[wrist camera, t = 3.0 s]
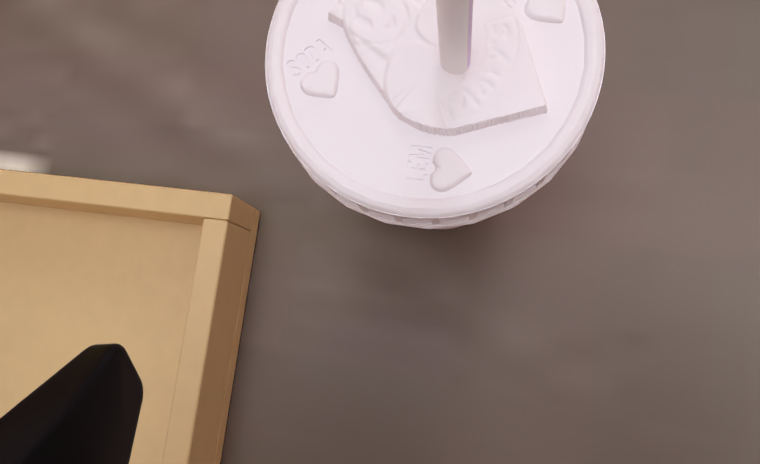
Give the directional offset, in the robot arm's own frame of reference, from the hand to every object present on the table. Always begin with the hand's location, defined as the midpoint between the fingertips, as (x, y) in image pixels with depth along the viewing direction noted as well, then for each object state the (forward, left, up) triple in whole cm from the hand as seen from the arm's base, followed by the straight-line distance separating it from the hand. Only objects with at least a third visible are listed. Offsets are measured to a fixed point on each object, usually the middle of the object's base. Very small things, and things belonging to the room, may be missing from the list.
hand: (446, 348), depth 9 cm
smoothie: (+5, +1, -12) cm, 13 cm away
